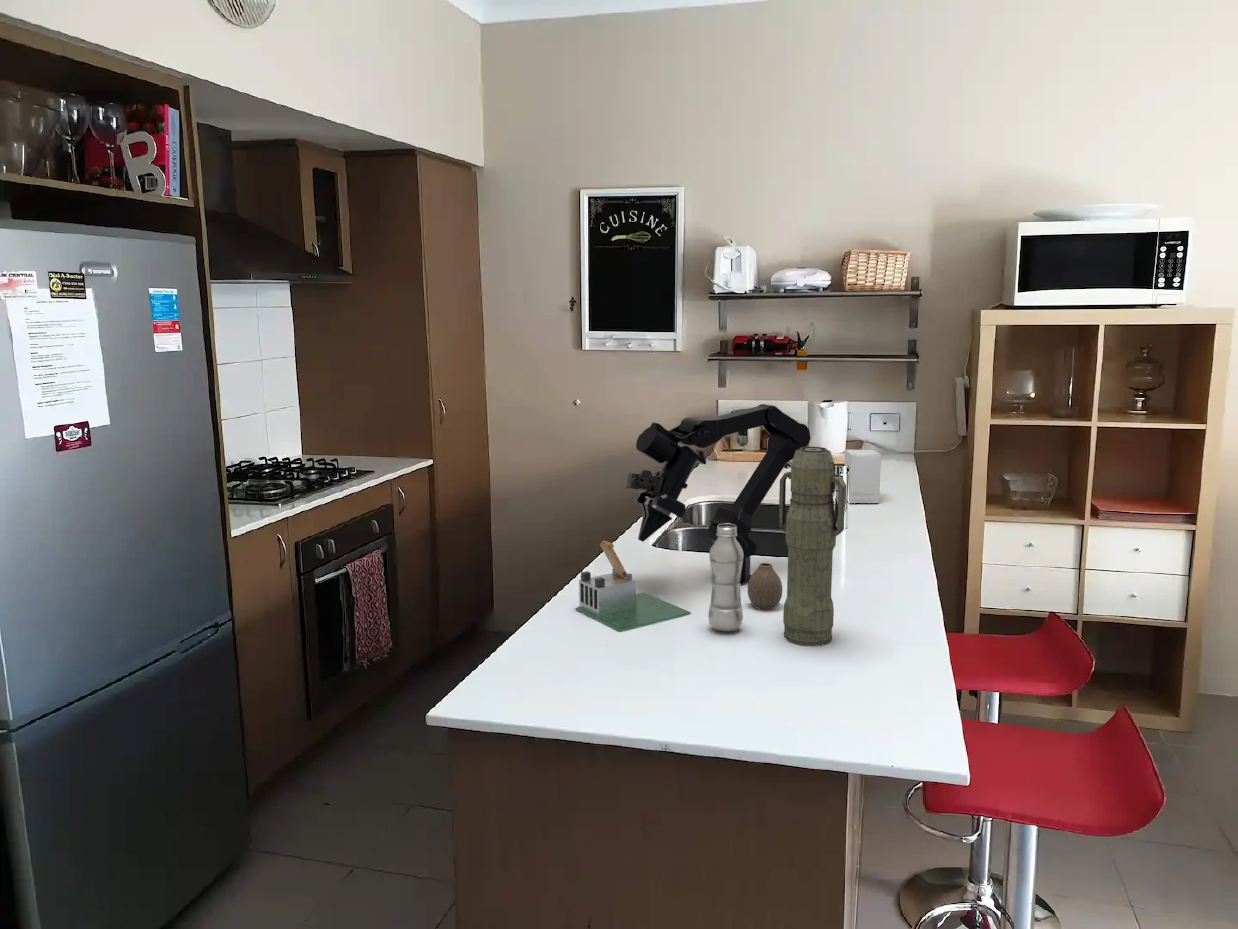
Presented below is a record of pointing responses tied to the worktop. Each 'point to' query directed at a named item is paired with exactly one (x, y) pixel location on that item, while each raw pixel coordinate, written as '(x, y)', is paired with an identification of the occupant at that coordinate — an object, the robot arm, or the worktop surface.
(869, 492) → the supplement box
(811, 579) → the thermos
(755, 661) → the worktop surface
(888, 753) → the worktop surface
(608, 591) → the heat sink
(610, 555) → the tan flat bar
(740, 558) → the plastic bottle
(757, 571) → the vase
